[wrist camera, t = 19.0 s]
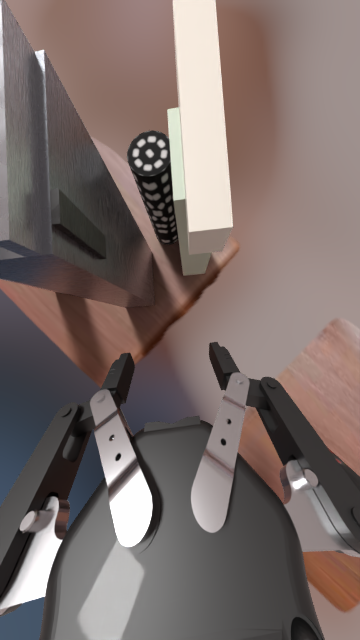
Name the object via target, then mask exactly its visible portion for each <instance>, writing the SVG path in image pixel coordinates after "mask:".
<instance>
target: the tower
mask: <svg viewBox="0 0 360 640" xmlns="http://www.w3.org/2000/svg"><path fill="white" fill-rule="evenodd" d="M0 278H3V279H7V280H11V281H15V282H20V283H24V284H28V285H32V286H37V287H41V288H45V289H49V290H53V291H58V292H62V293H66V294H70V295H75V296H79V297H83V298H87V299H92V300H96V301H100V302H104V303H108V304H113V305H117V306H121V307H125V308H127V307H140V306H153V305H155V297H154V281H153V265H152V251H151V250H150V248H149V246H148V244H147V242H146V240H145V238H144V236H143V235H142V233H141V231H140V229H139V227H138V225H137V223H136V221H135V220H134V218H133V216H132V214H131V212H130V210H129V208H128V206H127V205H126V203H125V201H124V199H123V197H122V195H121V193H120V191H119V190H118V188H117V186H116V184H115V182H114V180H113V178H112V176H111V175H110V173H109V171H108V169H107V167H106V165H105V163H104V161H103V160H102V158H101V156H100V154H99V152H98V150H97V148H96V146H95V145H94V143H93V141H92V139H91V137H90V135H89V133H88V131H87V130H86V128H85V126H84V124H83V122H82V120H81V119H80V116H79V115H78V113H77V111H76V109H75V108H74V105H73V103H72V101H71V100H70V98H69V96H68V94H67V92H66V90H65V88H64V87H63V85H62V83H61V81H60V80H59V77H58V75H57V73H56V71H55V70H54V68H53V66H52V64H51V62H50V60H49V58H48V57H47V55H46V53H45V51H44V50H41V51H36V52H34V50H33V49H32V47H31V45H30V43H29V42H28V40H27V38H26V36H25V35H24V33H23V31H22V29H21V28H20V26H19V24H18V22H17V21H16V19H15V17H14V16H13V14H12V12H11V10H10V8H9V7H8V5H7V3H6V1H5V0H0Z"/></svg>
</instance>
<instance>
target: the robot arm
mask: <svg viewBox="0 0 360 640" xmlns="http://www.w3.org/2000/svg"><path fill="white" fill-rule="evenodd" d="M0 279H2V280H7V279H3V278H0ZM7 281H11V280H7ZM11 282H15V281H11ZM15 283H20V282H15ZM20 284H24V283H20ZM24 285H28V284H24ZM28 286H32V285H28ZM32 287H37V286H32ZM37 288H41V287H37ZM41 289H45V288H41ZM45 290H49V289H45ZM50 291H53V290H50ZM54 292H58V291H54ZM58 293H62V292H58ZM63 294H66V293H63ZM209 357H210V361H211V364H212V366H213V369H214V372H215V374H216V377H217V380H218V383H219V385H220V388H221V390H225V391H226V392H225V395H224V397H223V399H222V402H221V405H220V407H219V410H218V414H217V416H216V419H215V422H214V425H213V426H212V425H211V424H209V423H208V422H205V421H202V420H200V418H199V416H195V417H187V418H185V419H182V420H180V421H178V422H176V423H173V424H170V423H164V422H151V423H145V428H143V429H142V430H140V431H139V432H137V433H136V434H135V435H134V436H133V434H132V432H131V430H130V428H129V426H128V424H127V422H126V420H125V417H124V415H123V413H122V411H121V409H120V405H121V404H124V403H126V399H127V396H128V392H129V388H130V384H131V380H132V376H133V373H134V369H135V364H134V361H133V359H132V356H131V354H130V353H124V354H121V356H120V358H119V360H116V361H115V362H114V363H113V364H112V366H111V368H110V370H109V372H108V375H107V377H106V379H105V381H104V383H103V385H102V388H101V390H100V391H99V392H97V393H96V394H95V395H94V396H93V397H92V399H91V400H89V401H87V402H84V403H82V404H79V405H78V404H77V403H75V402H72V403H69V404H67V405H65V406H64V407H62V408H61V409H60V410H59V411H58V412H57V414H56V415H55V417H54V419H53V420H52V422H51V424H50V425H49V427H48V429H47V430H46V432H45V434H44V435H43V437H42V439H41V440H40V442H39V444H38V445H37V447H36V449H35V450H34V452H33V454H32V455H31V457H30V459H29V460H28V462H27V464H26V465H25V467H24V468H23V470H22V472H21V474H20V475H19V477H18V478H17V480H16V482H15V483H14V485H13V487H12V489H11V490H10V492H9V494H8V495H7V497H6V498H5V500H4V502H3V503H2V505H1V507H0V616H3V615H5V614H8V613H10V612H12V611H14V610H16V609H17V608H18V607H19V606H20V605H21V604H22V603H24V602H26V601H30V600H33V599H37V598H40V597H44V596H45V601H44V611H43V620H42V626H41V633H40V639H39V640H325V639H324V637H323V633H322V631H321V628H320V625H319V622H318V619H317V615H316V612H315V609H314V605H313V602H312V598H311V595H310V590H309V587H308V582H307V577H306V572H305V566H304V559H303V553H302V552H308V551H333V550H334V551H336V552H339V553H345V554H347V555H350V556H355V557H360V491H359V490H358V488H357V487H356V486H355V484H354V483H353V482H352V480H351V479H350V478H349V476H348V475H347V474H346V472H345V471H344V469H343V468H342V467H341V465H340V464H339V463H338V461H337V460H336V459H335V457H334V456H333V455H332V453H331V452H330V450H329V449H328V448H327V446H326V445H325V444H324V442H323V441H322V440H321V438H320V437H319V436H318V434H317V433H316V431H315V430H314V429H313V427H312V426H311V425H310V423H309V422H308V421H307V419H306V418H305V417H304V415H303V414H302V412H301V411H300V410H299V408H298V407H297V406H296V404H295V403H294V402H293V400H292V399H291V398H290V396H289V395H288V393H287V392H286V391H285V389H284V388H283V387H282V385H281V384H280V383H279V382H278V381H277V380H275V379H273V378H271V377H263V378H262V379H261V381H260V380H254V379H249V378H247V377H246V376H245V375H244V374H242V373H240V371H239V369H238V368H237V366H236V364H235V362H234V361H233V359H232V357H231V355H230V353H229V352H228V350H227V349H226V348H225V347H220V346H219V344H218V342H214V343H210V345H209ZM245 405H247V406H251V407H256V410H257V412H258V414H259V416H260V418H261V420H262V422H263V424H264V426H265V428H266V430H267V432H268V435H269V437H270V439H271V441H272V443H273V445H274V447H275V449H276V451H277V453H278V455H279V458H280V460H281V462H282V464H283V467H282V468H281V470H280V480H281V483H282V486H283V490H284V501H283V503H282V501H281V500H280V499H279V497H278V496H277V495H276V493H275V492H274V491H273V490H272V489H271V488H270V487H269V486H268V485H267V484H266V482H265V481H264V480H263V479H262V478H261V477H260V476H259V475H258V474H257V473H256V472H255V470H254V469H253V468H252V467H251V466H250V465H249V464H248V463H247V462H246V461H245V460H244V458H243V457H242V456H241V455H240V454H239V453H238V446H239V441H240V436H241V430H242V425H243V420H244V414H245ZM94 428H95V429H94ZM92 429H94V432H95V437H96V441H97V445H98V449H99V453H100V457H101V461H102V465H103V469H104V473H105V477H104V478H103V480H102V481H101V483H100V484H99V486H98V487H97V488H96V490H95V491H94V493H93V494H92V496H91V497H90V498H89V500H88V501H87V503H86V504H85V506H84V507H83V509H82V510H81V511H80V513H79V514H78V516H77V517H76V519H75V520H74V522H73V523H72V524H71V526H70V528H69V529H68V531H67V523H68V519H69V512H70V504H69V502H68V501H67V499H68V496H69V493H70V490H71V488H72V485H73V482H74V479H75V476H76V474H77V471H78V468H79V465H80V462H81V460H82V457H83V454H84V451H85V448H86V445H87V443H88V440H89V437H90V434H91V431H92Z"/></svg>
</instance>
